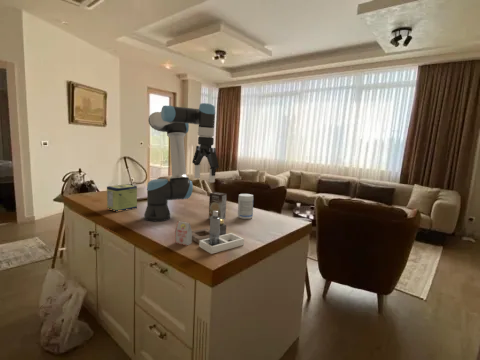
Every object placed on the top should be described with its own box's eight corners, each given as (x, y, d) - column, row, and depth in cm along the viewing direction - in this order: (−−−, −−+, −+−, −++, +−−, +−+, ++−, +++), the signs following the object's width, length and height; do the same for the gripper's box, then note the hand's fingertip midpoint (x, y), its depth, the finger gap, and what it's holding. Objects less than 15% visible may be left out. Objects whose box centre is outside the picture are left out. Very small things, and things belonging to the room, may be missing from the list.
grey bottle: (207, 247, 121) (208, 210, 118) (215, 245, 124) (216, 209, 121) (212, 250, 117) (214, 213, 115) (221, 248, 120) (222, 211, 118)
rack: (199, 246, 121) (199, 240, 120) (231, 238, 133) (231, 232, 132) (211, 253, 114) (211, 247, 113) (243, 244, 126) (244, 238, 125)
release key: (213, 231, 139) (213, 219, 138) (220, 229, 142) (220, 218, 141) (218, 233, 136) (218, 221, 135) (225, 232, 139) (225, 220, 138)
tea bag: (180, 240, 128) (180, 220, 126) (191, 243, 125) (192, 222, 123) (175, 242, 124) (175, 222, 123) (186, 245, 121) (187, 224, 120)
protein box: (137, 208, 182) (137, 185, 180) (116, 212, 169) (115, 188, 167) (127, 205, 187) (127, 183, 185) (106, 209, 174) (106, 186, 172)
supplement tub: (255, 218, 171) (256, 195, 169) (243, 220, 165) (244, 197, 163) (246, 214, 179) (247, 193, 177) (234, 216, 173) (235, 194, 171)
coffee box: (208, 218, 165) (208, 193, 163) (213, 216, 171) (214, 191, 169) (221, 221, 162) (222, 195, 159) (226, 218, 167) (227, 193, 165)
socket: (186, 236, 134) (186, 226, 133) (216, 229, 145) (216, 220, 145) (198, 243, 124) (199, 233, 124) (230, 236, 136) (230, 226, 136)
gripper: (227, 138, 122) (225, 183, 126) (199, 135, 141) (197, 175, 145) (214, 137, 117) (212, 185, 121) (186, 135, 136) (185, 176, 140)
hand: (204, 180), depth 133 cm, fingers open, 13 cm apart
